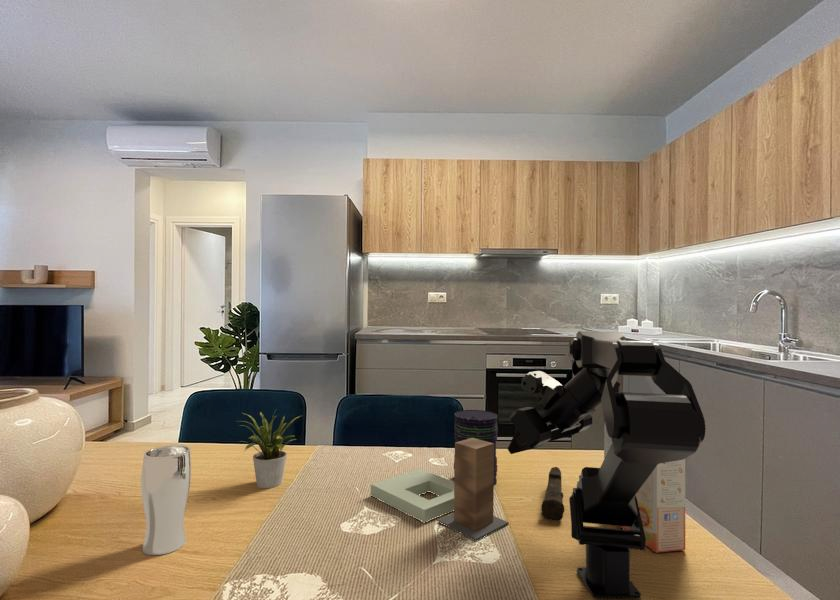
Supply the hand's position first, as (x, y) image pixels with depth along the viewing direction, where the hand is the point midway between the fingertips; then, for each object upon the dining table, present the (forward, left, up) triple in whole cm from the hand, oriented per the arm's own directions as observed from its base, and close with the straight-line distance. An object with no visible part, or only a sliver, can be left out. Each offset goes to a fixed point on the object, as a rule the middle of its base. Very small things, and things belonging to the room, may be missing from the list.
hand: (524, 446), depth 82 cm
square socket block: (+9, +18, -14) cm, 25 cm away
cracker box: (-4, -20, -14) cm, 24 cm away
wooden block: (-1, +9, -13) cm, 16 cm away
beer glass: (-9, +60, -14) cm, 62 cm away
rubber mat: (-1, +9, -14) cm, 17 cm away
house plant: (+17, +53, -14) cm, 57 cm away
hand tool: (+9, -8, -14) cm, 19 cm away
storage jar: (+20, +6, -14) cm, 25 cm away
